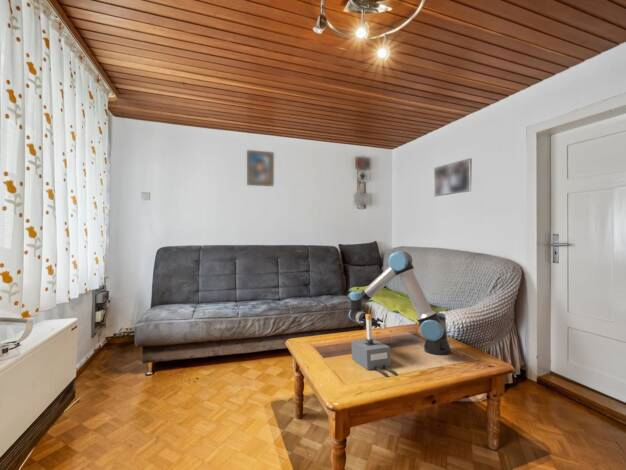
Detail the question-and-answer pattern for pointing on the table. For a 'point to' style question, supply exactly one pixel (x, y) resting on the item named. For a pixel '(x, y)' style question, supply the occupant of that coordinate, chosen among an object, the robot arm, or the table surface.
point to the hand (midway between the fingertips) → (384, 326)
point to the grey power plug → (372, 355)
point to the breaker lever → (369, 328)
